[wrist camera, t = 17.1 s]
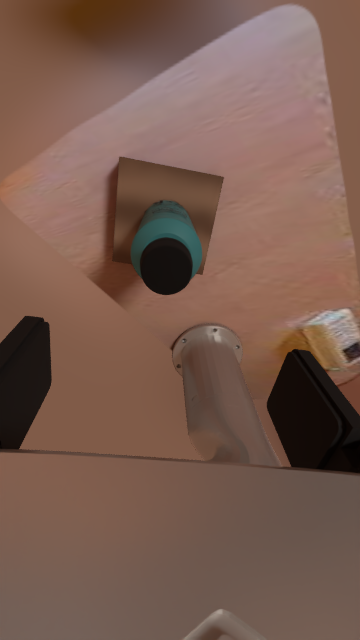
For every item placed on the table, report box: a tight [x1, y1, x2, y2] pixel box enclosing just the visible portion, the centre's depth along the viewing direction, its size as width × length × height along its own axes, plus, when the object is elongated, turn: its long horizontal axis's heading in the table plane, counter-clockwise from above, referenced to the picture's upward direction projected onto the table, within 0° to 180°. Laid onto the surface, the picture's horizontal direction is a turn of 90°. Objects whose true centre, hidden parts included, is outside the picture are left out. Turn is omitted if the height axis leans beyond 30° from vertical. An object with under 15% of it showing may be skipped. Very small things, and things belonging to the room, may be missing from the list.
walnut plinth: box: [112, 157, 224, 275], centre depth 40 cm, size 13×13×3 cm
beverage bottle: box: [131, 199, 202, 295], centre depth 30 cm, size 6×7×20 cm
